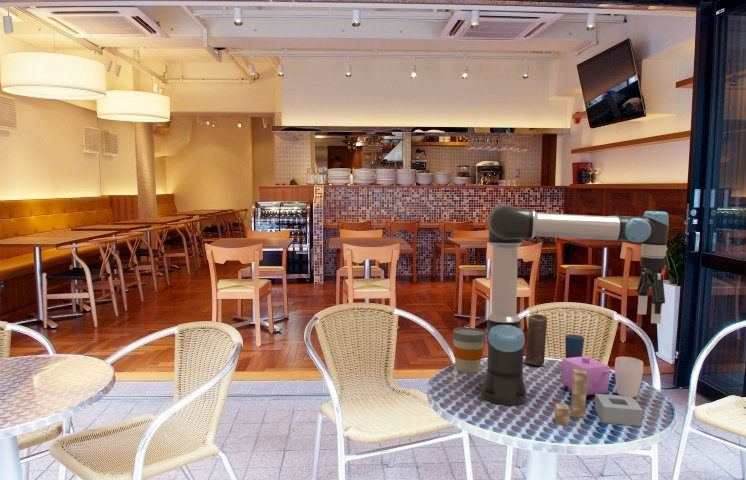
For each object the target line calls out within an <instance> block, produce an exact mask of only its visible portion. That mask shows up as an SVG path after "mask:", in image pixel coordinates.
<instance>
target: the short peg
mask: <svg viewBox="0 0 746 480" xmlns="http://www.w3.org/2000/svg"><path fill="white" fill-rule="evenodd" d="M554 406H555V407H554V408H555V409H554V421H555V424H556V425H559V426H560V425H561V426H569V425H570V414H571V408H570V406H569V405H568V404H561V403H559V404H558V403H555V405H554Z"/></svg>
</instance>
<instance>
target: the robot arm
mask: <svg viewBox="0 0 746 480" xmlns="http://www.w3.org/2000/svg"><path fill="white" fill-rule="evenodd" d="M669 217H670V215H669V213H668V212H667V211H658V210H657V211H656V210H655V211H653V210H650V211H649V210H646V211H644V213H643V215H642V216H631V215H630V216H629V215H628V216H627V215H625V216H624V215H609V216H606V215H605V216H604V215H588V214H585V215H583V214H568V213H567V214H565V213H541V212H537V211H535V209H526V208H520V207H517V206H514V205H511V204H507V203H505V204H500V205H497V206H496V207H494V208H493V209H492V210H491V211H490V212H489V216H488V217H487V225H488V244H489V245H490V246H491V248H492V273H491V274H492V280H491V281H492V285H491V286H492V287H491V288H492V289H491V313H490V314H489V315H488V316H487V330H486V340H487V341H486V342H487V362H486V363H487V364H486V365H487V368H486V374H485V377H484V380H483V383H482V384H481V385H482V386H481V389H480V396H481V398H483V400H485V401H487V402H490V403H492V404H495V405H496V404H497V405H504V406H519V405H522V404H524V403H526V402H527V400H528V392H527V387H526V385H525V381H524V377H523V373H524V371H523V370H524V349H525V344H526V343H525V342H526V338H525V334H524V331H523V330H522V329H521V326H522V325H521V322H522V321H521V317H520V316H519V315H518V314H517V301H518V300H517V299H518V298H517V296H518V295H517V293H518V292H517V291H518V252H519V251H518V248H519V247H520V246H521V245H522V244H523V239H528V240H532V239H534V238H535V237H547V238H565V239H567V238H569V239H586V240H587V239H588V240H590V239H591V240H606V241H609V240H610V241H618V242H619V241H622V242H623V241H624V242H632V243H641V246H640V247H641V250H640V256H641V257H640V261H639V263H640V265H639V266H640V268H641V269H640V270H641V271H640V277H639V281H638V283H637V287H636V293H637V294H638V303H637V313H636V314H637V315H647V312H648V311H647V309H648V298H649V295H650V294H649V290H650V291H651V296H652V301H651V312H650V313H651V315H650V323H651V324H658V325H659V324H661V319H662V308H663V305H664V304H665V303H666V298H665V287H664V274H663V273H660V270H661V271H662V270H665V268H666V262H667V261H666V258H665V257H666V256H667V251H668V249H669V248H668V247H667V245H668V244H667V243H668V233H669V226H670V225H669V223H670V222H669V221H670V220H669Z"/></svg>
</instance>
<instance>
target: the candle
mask: <svg viewBox="0 0 746 480" xmlns="http://www.w3.org/2000/svg"><path fill="white" fill-rule="evenodd" d="M527 324H528V325H527V333H526V334H527V335H526V345H525V357H524V359H525V360H524V362H525V364H527V365H528V364H529V365H530V366H534V367H537V366H541V365H543V364H545V358H546V357H545V355H546V341H547V339H546V337H547V325H548V317H547V316H546V315H543V314H530V315H529V317H528V323H527Z"/></svg>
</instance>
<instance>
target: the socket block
mask: <svg viewBox="0 0 746 480" xmlns="http://www.w3.org/2000/svg"><path fill="white" fill-rule="evenodd" d="M594 396H595V398H594V410H595V412H596V414H597V415H598V417H599V418H600V420H601V422H602V423H603V424H611V425H622V426H623V425H624V426H634V427H642V426H643V416H644V415H643V414H644V410H643V409H642V407H641V406H640V405H639V403H638V402H637V401H636V400H635V399H634V397H630V396H622V395H619V394H618V395H616V394H615V395H614V394H606V393H600V394H595V395H594Z"/></svg>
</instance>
